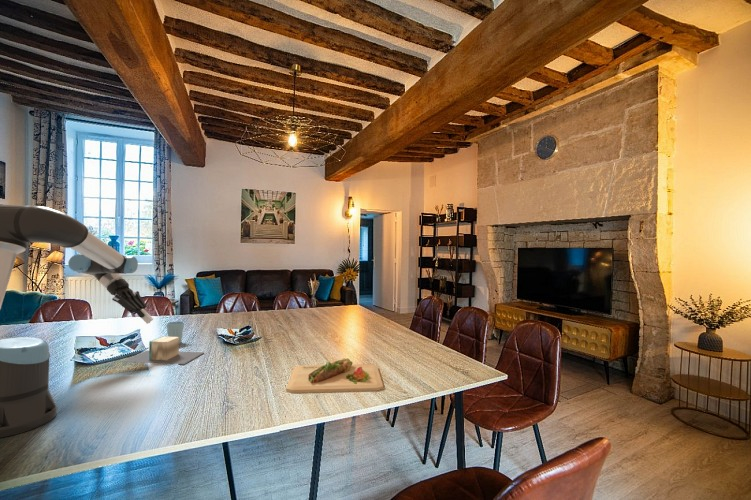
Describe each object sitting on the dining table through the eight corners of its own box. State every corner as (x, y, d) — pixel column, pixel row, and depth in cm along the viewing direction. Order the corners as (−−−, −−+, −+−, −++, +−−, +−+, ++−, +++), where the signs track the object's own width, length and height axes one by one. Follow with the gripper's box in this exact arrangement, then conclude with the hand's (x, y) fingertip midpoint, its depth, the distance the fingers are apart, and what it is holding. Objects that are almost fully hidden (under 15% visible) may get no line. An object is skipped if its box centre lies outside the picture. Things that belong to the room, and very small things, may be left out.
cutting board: (376, 368, 139) (376, 350, 139) (383, 392, 115) (384, 371, 115) (294, 369, 135) (295, 351, 135) (285, 394, 112) (285, 373, 112)
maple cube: (161, 353, 147) (178, 354, 147) (149, 359, 139) (166, 360, 139) (162, 336, 147) (179, 336, 147) (149, 341, 139) (167, 342, 139)
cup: (163, 345, 161) (163, 324, 161) (170, 340, 169) (171, 321, 169) (179, 345, 162) (179, 324, 162) (185, 340, 170) (186, 321, 170)
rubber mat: (204, 353, 150) (204, 352, 150) (183, 365, 135) (184, 363, 135) (146, 351, 151) (146, 350, 151) (120, 362, 136) (120, 361, 136)
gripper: (121, 287, 151) (154, 323, 150) (96, 291, 138) (132, 330, 137) (132, 276, 150) (166, 312, 150) (108, 279, 137) (145, 319, 137)
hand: (150, 321), depth 144 cm, fingers closed
